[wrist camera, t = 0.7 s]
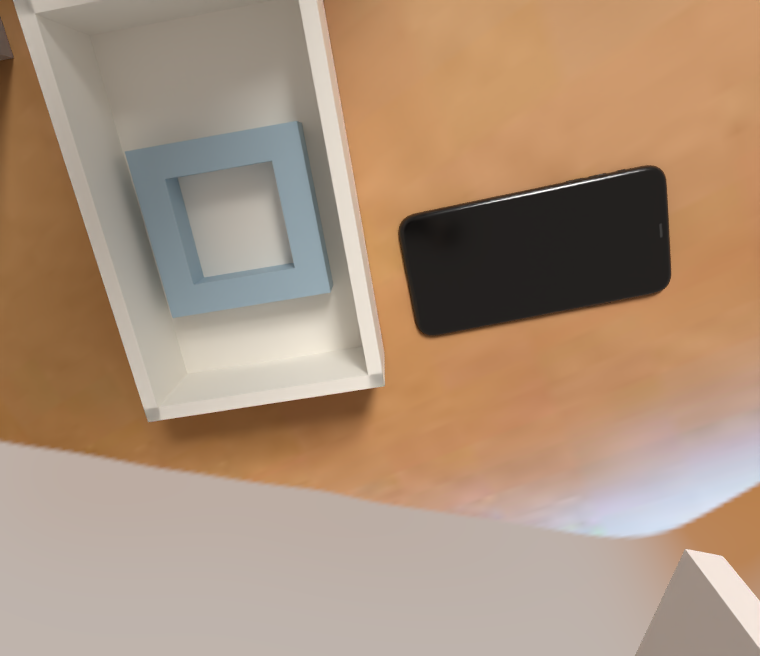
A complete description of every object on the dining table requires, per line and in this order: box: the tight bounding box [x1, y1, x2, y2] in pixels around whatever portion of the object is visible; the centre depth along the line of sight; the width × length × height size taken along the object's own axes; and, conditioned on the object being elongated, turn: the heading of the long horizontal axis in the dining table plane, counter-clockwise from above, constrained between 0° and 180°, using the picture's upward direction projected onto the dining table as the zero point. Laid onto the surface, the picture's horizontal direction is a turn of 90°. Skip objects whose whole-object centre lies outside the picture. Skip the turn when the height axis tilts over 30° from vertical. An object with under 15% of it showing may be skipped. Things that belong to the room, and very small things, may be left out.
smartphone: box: [399, 165, 671, 336], centre depth 34 cm, size 8×1×16 cm
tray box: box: [13, 0, 385, 422], centre depth 31 cm, size 22×14×6 cm, turn 9°
